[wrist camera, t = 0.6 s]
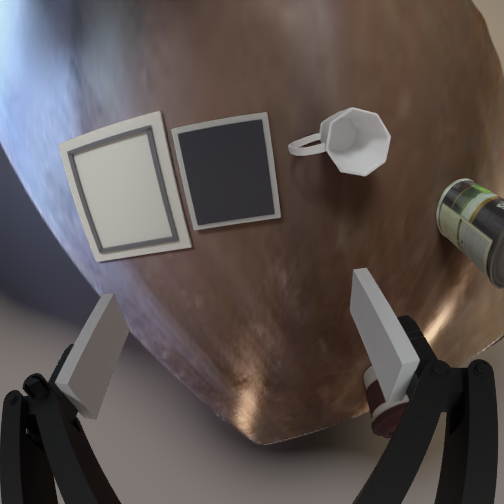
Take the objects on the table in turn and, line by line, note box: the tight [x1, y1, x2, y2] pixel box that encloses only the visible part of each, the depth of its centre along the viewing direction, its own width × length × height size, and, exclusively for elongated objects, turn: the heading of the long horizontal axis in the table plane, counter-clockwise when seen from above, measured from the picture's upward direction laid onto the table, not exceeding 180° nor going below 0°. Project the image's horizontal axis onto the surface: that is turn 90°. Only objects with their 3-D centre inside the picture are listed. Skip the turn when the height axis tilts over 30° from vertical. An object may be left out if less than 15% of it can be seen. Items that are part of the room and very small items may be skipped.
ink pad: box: [171, 112, 281, 230], centre depth 35 cm, size 13×11×1 cm
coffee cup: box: [363, 365, 409, 438], centre depth 48 cm, size 10×10×15 cm
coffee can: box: [436, 179, 504, 288], centre depth 32 cm, size 10×10×14 cm
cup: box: [288, 107, 391, 176], centre depth 30 cm, size 7×10×8 cm
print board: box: [58, 111, 192, 262], centre depth 35 cm, size 18×15×1 cm
